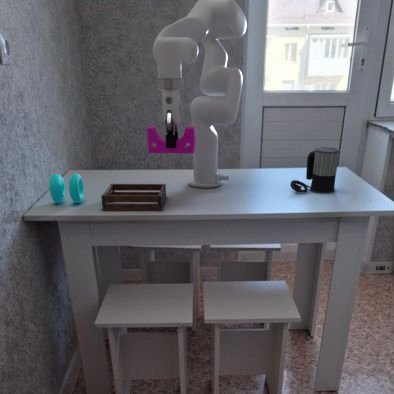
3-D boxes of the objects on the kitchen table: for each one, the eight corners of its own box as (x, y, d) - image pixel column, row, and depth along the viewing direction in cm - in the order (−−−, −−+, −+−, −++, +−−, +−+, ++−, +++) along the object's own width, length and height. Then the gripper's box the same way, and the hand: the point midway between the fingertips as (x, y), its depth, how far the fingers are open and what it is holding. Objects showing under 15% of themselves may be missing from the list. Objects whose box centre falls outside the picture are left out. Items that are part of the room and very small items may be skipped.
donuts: (59, 199, 178) (54, 170, 173) (86, 199, 178) (82, 170, 173) (51, 206, 170) (46, 177, 165) (79, 206, 170) (75, 177, 164)
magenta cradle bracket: (195, 149, 165) (195, 125, 161) (193, 153, 160) (193, 128, 156) (152, 149, 166) (150, 125, 162) (148, 153, 161) (147, 128, 157)
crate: (166, 197, 179) (165, 183, 176) (161, 210, 165) (160, 195, 162) (112, 197, 180) (110, 183, 177) (102, 210, 165) (101, 195, 163)
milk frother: (339, 190, 187) (345, 149, 179) (317, 198, 177) (322, 155, 169) (307, 184, 195) (311, 144, 187) (284, 191, 185) (288, 150, 178)
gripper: (179, 87, 145) (181, 151, 154) (184, 82, 159) (185, 141, 169) (154, 87, 145) (157, 151, 155) (161, 82, 160) (164, 141, 170)
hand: (172, 145), depth 162 cm, fingers closed on magenta cradle bracket, 6 cm apart
